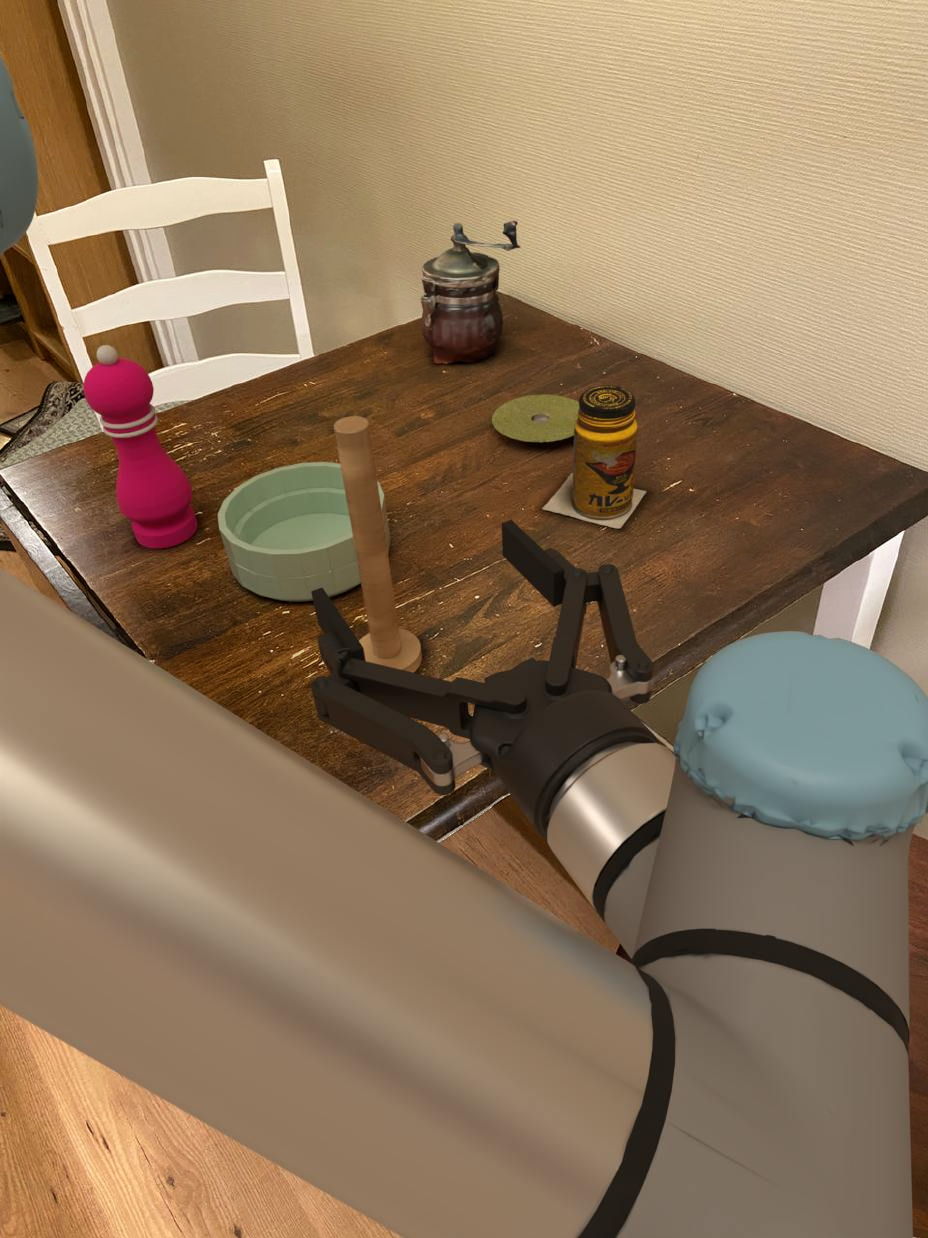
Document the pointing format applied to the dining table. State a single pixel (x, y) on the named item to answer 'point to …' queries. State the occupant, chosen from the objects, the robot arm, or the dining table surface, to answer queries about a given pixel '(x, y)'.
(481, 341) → the coffee grinder
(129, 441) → the pepper mill
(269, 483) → the bowl
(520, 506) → the dining table surface
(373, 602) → the wooden post with base
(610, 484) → the condiment
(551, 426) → the olive green flat disc
